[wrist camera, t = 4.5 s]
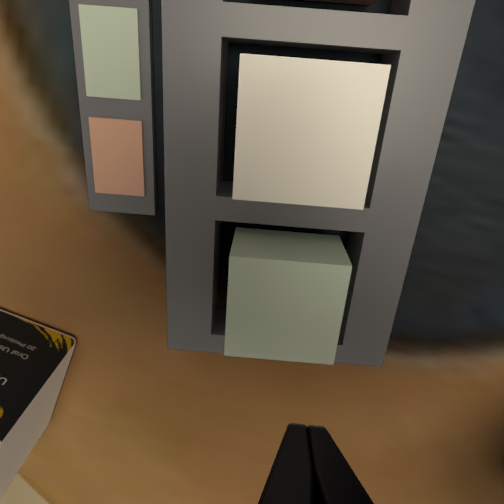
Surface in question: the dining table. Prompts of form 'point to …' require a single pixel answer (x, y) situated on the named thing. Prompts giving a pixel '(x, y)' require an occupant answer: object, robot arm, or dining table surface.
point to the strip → (116, 102)
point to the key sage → (285, 295)
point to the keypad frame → (354, 220)
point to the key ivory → (306, 130)
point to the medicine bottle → (27, 386)
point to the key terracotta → (349, 1)
